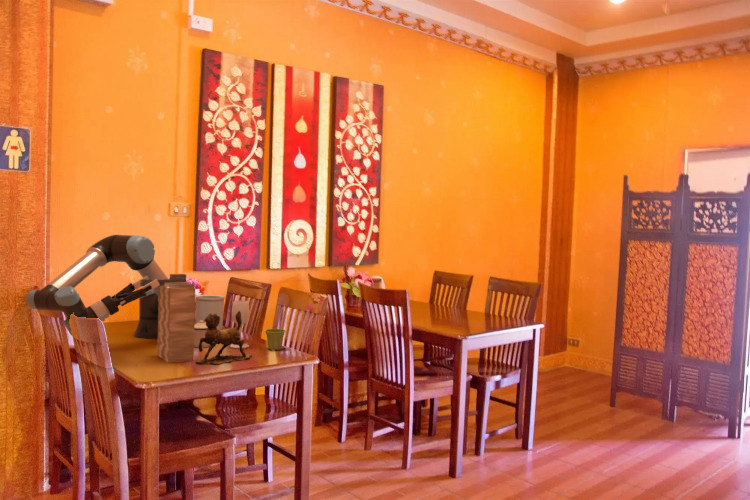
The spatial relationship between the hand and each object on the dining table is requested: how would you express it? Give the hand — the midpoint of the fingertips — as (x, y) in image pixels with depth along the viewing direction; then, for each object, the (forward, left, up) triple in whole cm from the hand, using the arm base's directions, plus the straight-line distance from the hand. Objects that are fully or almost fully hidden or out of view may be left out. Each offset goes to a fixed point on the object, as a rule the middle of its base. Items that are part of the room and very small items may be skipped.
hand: (153, 280), depth 251 cm
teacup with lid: (-15, +26, -32) cm, 44 cm away
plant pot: (+7, +53, -32) cm, 63 cm away
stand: (+5, +8, -32) cm, 34 cm away
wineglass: (-5, +41, -32) cm, 53 cm away
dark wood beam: (0, +4, -2) cm, 5 cm away
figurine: (+18, +25, -32) cm, 45 cm away
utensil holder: (-54, +45, -32) cm, 78 cm away
